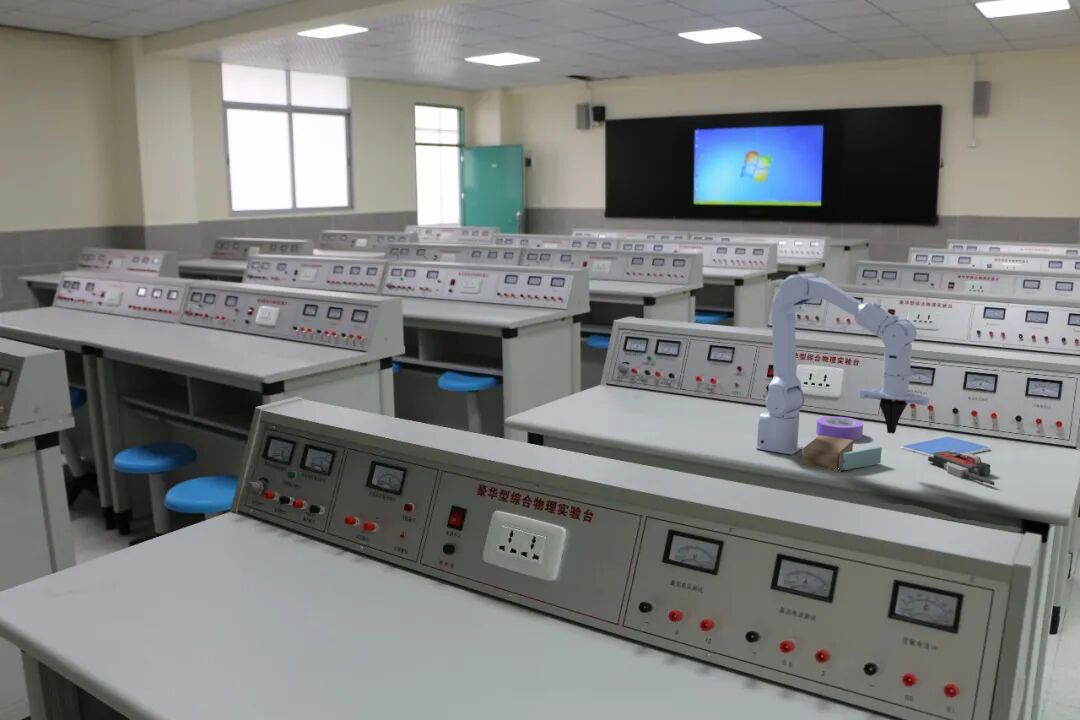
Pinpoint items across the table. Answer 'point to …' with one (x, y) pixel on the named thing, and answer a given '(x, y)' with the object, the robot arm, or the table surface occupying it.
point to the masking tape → (839, 427)
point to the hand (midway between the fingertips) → (891, 432)
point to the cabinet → (826, 452)
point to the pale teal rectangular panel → (861, 458)
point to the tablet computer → (945, 446)
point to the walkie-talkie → (962, 465)
